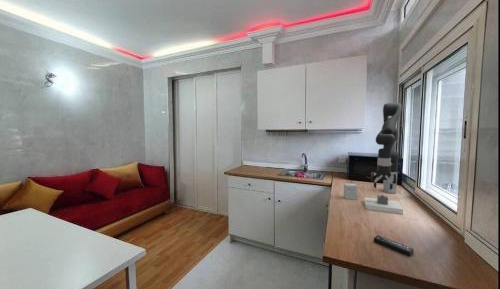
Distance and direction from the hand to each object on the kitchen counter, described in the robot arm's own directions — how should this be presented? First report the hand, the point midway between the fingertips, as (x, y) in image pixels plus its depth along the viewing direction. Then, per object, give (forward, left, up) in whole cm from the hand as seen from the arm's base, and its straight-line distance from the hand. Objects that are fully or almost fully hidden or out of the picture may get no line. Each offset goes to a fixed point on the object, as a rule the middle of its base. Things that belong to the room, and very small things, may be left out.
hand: (382, 188), depth 144 cm
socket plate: (0, 0, -13) cm, 13 cm away
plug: (0, 0, -13) cm, 13 cm away
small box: (-12, -19, -13) cm, 26 cm away
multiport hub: (+54, -3, -13) cm, 55 cm away
